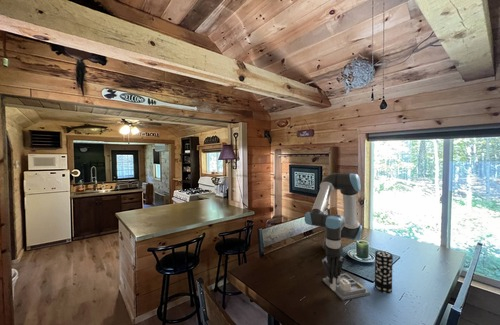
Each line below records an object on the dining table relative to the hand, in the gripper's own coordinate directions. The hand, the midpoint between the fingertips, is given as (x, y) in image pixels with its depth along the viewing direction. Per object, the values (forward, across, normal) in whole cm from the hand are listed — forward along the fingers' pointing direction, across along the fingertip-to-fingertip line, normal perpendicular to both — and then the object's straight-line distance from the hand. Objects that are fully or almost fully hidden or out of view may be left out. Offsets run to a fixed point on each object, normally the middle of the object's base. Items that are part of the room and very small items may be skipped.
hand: (332, 288), depth 117 cm
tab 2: (+2, -8, 0) cm, 8 cm away
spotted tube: (+4, -31, +2) cm, 31 cm away
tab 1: (+2, -8, -9) cm, 12 cm away
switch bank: (+4, -11, -4) cm, 13 cm away
